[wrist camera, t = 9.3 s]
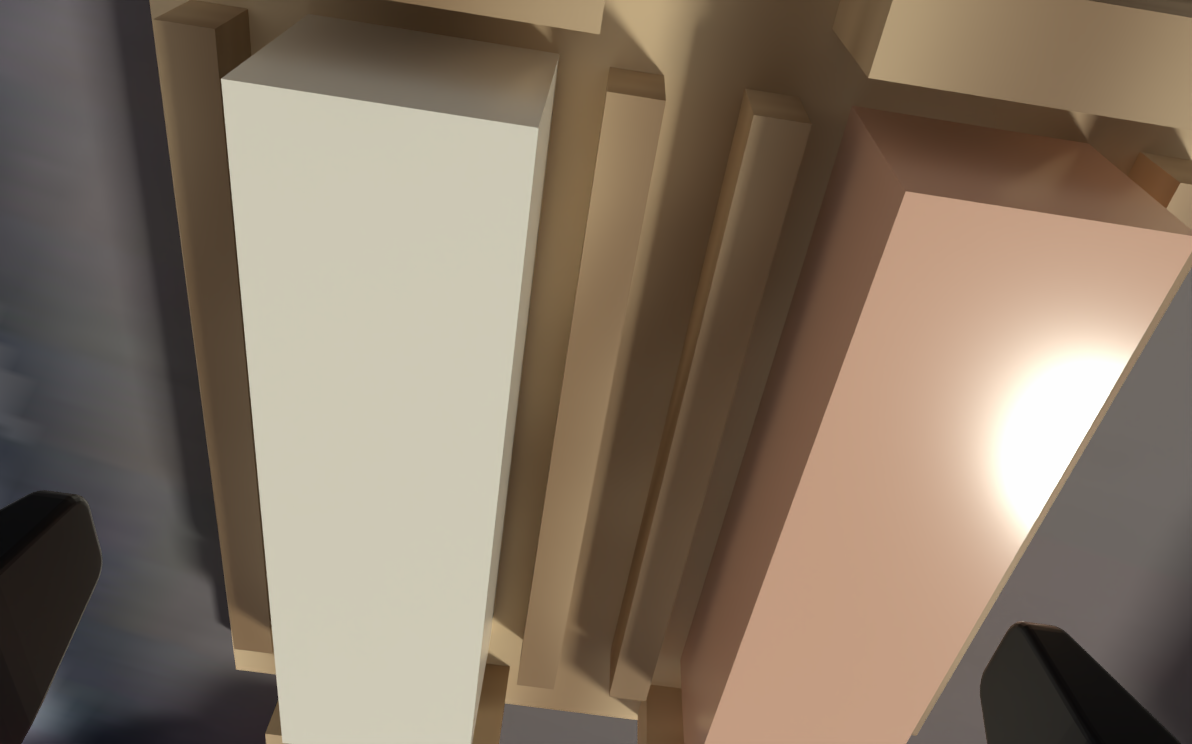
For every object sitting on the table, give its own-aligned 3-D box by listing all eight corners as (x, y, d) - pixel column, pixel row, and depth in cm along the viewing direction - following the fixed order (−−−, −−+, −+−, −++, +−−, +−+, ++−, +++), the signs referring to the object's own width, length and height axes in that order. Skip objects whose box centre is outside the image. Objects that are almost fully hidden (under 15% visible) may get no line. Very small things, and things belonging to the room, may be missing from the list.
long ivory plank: (559, 54, 16) (538, 127, 13) (491, 633, 25) (468, 765, 22) (308, 13, 16) (221, 78, 13) (330, 612, 25) (282, 742, 22)
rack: (1290, -15, 16) (1462, 43, 13) (886, 723, 28) (919, 850, 25) (151, -210, 15) (10, -203, 12) (248, 642, 27) (194, 762, 24)
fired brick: (1088, 143, 17) (1200, 237, 13) (834, 679, 26) (863, 816, 22) (852, 105, 16) (905, 191, 13) (680, 659, 25) (685, 793, 22)
